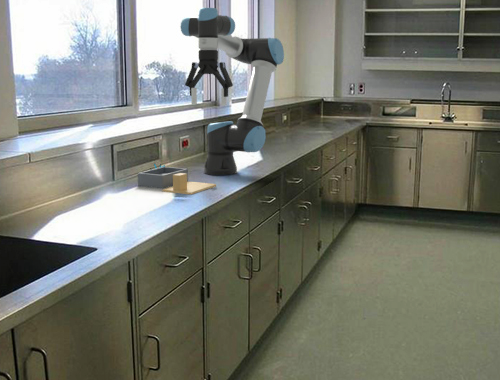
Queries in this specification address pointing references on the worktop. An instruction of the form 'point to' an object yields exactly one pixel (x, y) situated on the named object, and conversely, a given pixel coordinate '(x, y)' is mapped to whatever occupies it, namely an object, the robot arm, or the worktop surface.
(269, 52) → the robot arm
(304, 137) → the worktop surface
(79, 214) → the worktop surface
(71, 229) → the worktop surface
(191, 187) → the lid
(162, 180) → the tub
